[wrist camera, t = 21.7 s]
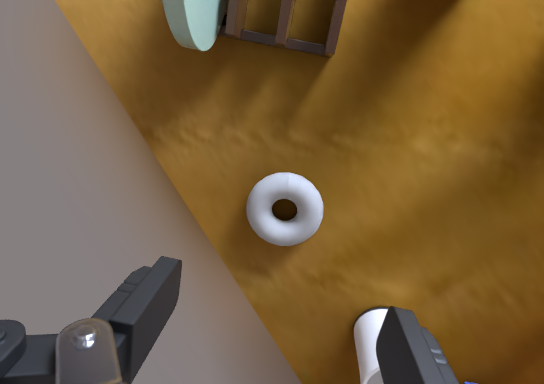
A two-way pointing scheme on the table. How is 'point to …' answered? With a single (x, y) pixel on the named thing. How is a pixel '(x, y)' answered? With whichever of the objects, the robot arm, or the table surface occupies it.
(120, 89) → the table surface
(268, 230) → the donut
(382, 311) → the mug
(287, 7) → the rack
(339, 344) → the table surface
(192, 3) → the plate
